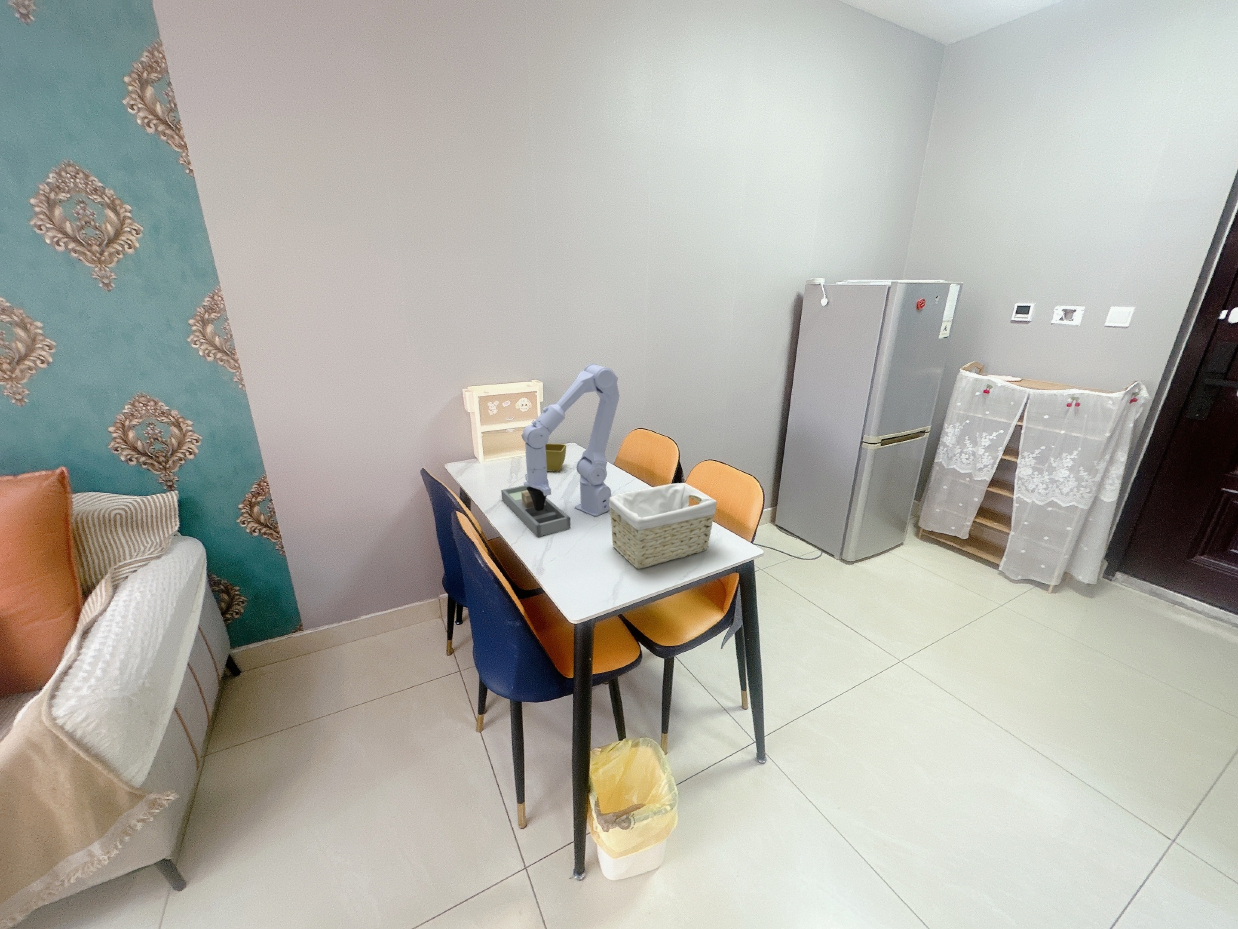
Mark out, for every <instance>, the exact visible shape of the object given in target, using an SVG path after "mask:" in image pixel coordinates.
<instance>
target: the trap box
mask: <svg viewBox="0 0 1238 929" xmlns="http://www.w3.org/2000/svg"><path fill="white" fill-rule="evenodd" d="M528 487H530V486H528ZM500 491H501V501H502V502H504V504H505V505H506V506H507V507H508V508H509V509H510V510H511V511H512V512H513V513H514V514H515V515H516V516H517V517H518V518H519V519H520V520H521V521H522V522H523V524H524V525H525V526H526V527H527V528H528V529H529V530H530V531H531V532H532V533H533V534H534V535H535V537H537V538H540V537H544V536H543V535H545V536H548V535H547V534H549V535H552V534H551V533H553V534H556V533H559V532H558V531H560V532H563V530H564V531H566V529H567V530H570V529H569V528H571V516H569V515H568V514H566V513H565V512H564V511H563V510H562V509H561V508H559V507H558V506H557V505H556V504H555V503H554V502H552V501H551V500H550V499H549V498H547V497H546V500H545V504H544V509H543V510H541V511H536V510H535V507H530V508H526V507H525V506H524V505H523V504H522V495H521V492H522V491H527V487H526V486H525V485H524V484H523V485H518V486H515V487H509V488H505V489H501V490H500ZM555 532H556V533H555Z"/></svg>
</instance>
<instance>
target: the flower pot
mask: <svg viewBox="0 0 1238 929" xmlns="http://www.w3.org/2000/svg"><path fill="white" fill-rule="evenodd" d="M545 448H546V462H547V472H557V473H558V472H559V471H560V470H561V469H562V467H563V465H564V463H565V459H566V454H567V453H566V452H567V444H564V443H563V444H562V443H547V444H546V445H545Z"/></svg>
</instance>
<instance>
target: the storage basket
mask: <svg viewBox="0 0 1238 929" xmlns="http://www.w3.org/2000/svg"><path fill="white" fill-rule="evenodd" d="M690 498H691V499H690ZM690 500H692V501H693V500H694V501H696V502H697V503H699V504H695V505H690ZM717 502H718V501H717V500H716V499H714V498H712V497H710V496H709V495H708V494H706V493H704V492H703V491H700V490H699V489H697V488H695V487H694V486H691V485H689V484H688V483H686V482H680V483H679V482H677V483H670V484H669V483H667V484H663V485H658V486H654V487H653V486H652V487H648V488H643V489H637V490H632V491H627V492H623V493H622V492H621V493H619V494H615V495H611V497H610V498H609V506H610V510H609V512H610V521H611V522H610V525H611V536H612V538H611V539H612V546H613V548H614V549H615V550H616V551H617V552H618V553H620V555H622V557H624V559H625V560H626V561H628V562H629V563H630V564H631V565H632V566H634V567H635V568H636V569H645V568H648V567H651V566H656V565H658V564H662V563H666V562H668V561H673V560H677V559H682V558H685V557H687V556H691V555H693V554H698V553H701V552H705V551H707V550H708V548H709V542H710V538H711V533H712V529H713V522H714V518H715V515H716V511H717V505H718V504H717Z"/></svg>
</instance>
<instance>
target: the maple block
mask: <svg viewBox="0 0 1238 929" xmlns="http://www.w3.org/2000/svg"><path fill="white" fill-rule="evenodd" d="M521 495H522V504H523V505H524V506H525V507H526V508H530V507H534V504H533V501H532V498H531V496H530V494H529V492H528V490H527V491H522V492H521Z"/></svg>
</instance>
